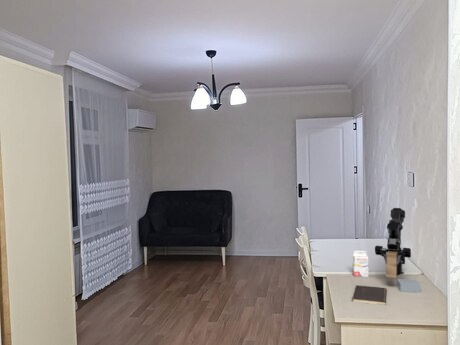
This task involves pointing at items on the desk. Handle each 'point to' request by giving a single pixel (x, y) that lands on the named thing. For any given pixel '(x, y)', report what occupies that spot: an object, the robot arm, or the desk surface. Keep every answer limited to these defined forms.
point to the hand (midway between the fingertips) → (391, 264)
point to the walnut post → (391, 264)
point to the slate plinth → (408, 285)
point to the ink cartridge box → (360, 264)
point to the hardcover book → (370, 294)
